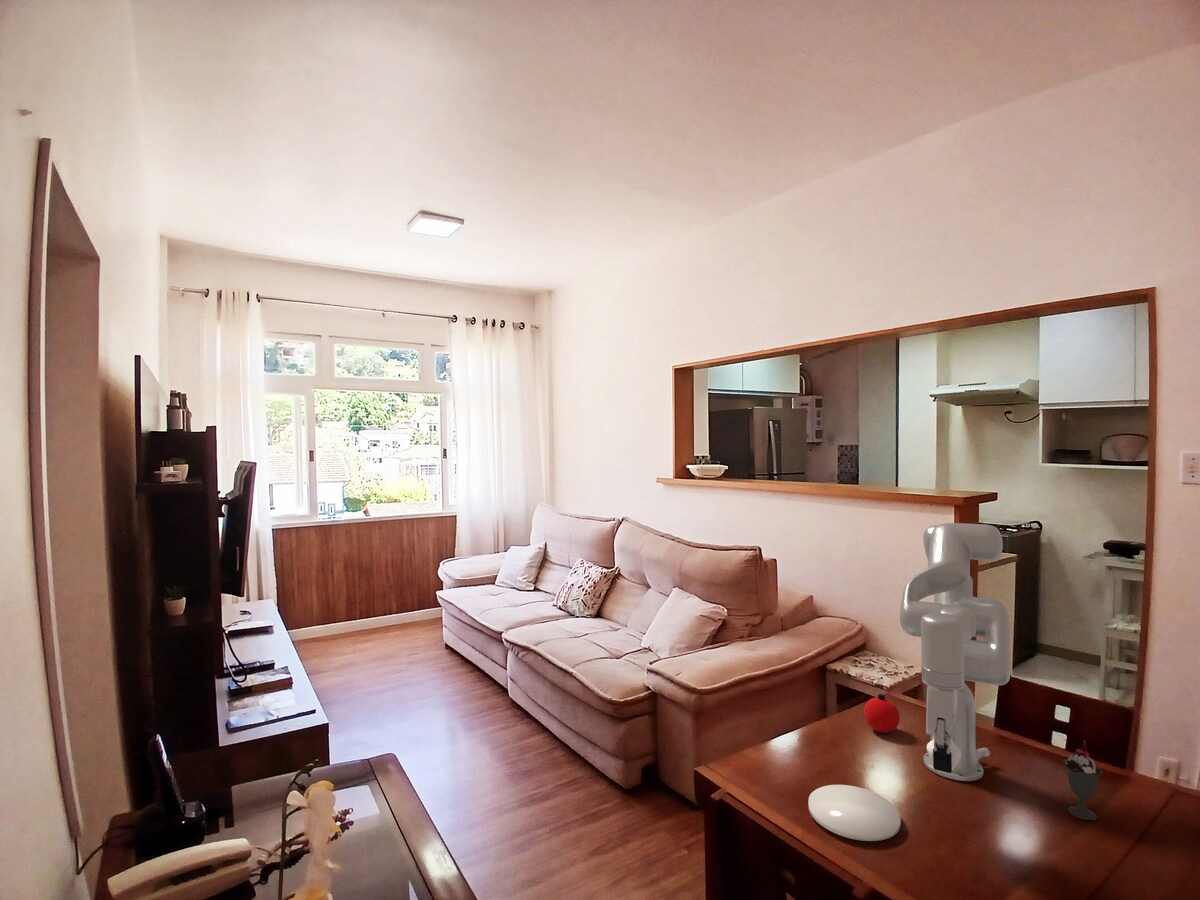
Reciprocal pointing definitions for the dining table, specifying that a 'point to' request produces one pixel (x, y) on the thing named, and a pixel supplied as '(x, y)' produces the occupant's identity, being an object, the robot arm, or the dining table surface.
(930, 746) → the muffin
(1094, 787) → the sundae
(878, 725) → the ornament
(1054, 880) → the dining table surface
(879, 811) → the cake plate
